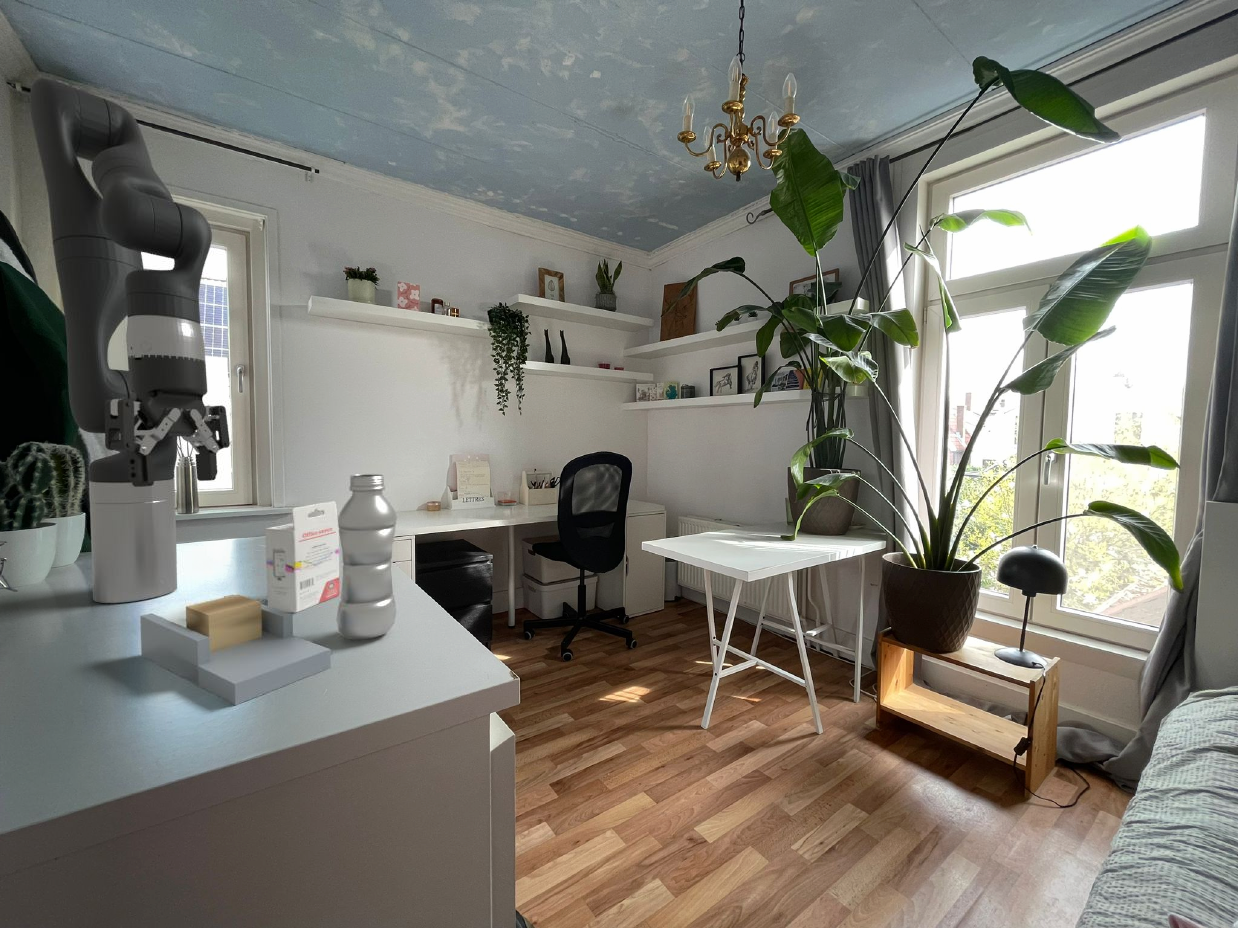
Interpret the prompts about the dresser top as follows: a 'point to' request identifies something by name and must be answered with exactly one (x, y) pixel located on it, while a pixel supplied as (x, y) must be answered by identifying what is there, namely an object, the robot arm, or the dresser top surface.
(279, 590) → the ink cartridge box
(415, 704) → the dresser top surface
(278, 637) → the grey angular piece
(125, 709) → the dresser top surface
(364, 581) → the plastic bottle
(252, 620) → the oak block
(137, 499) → the robot arm
